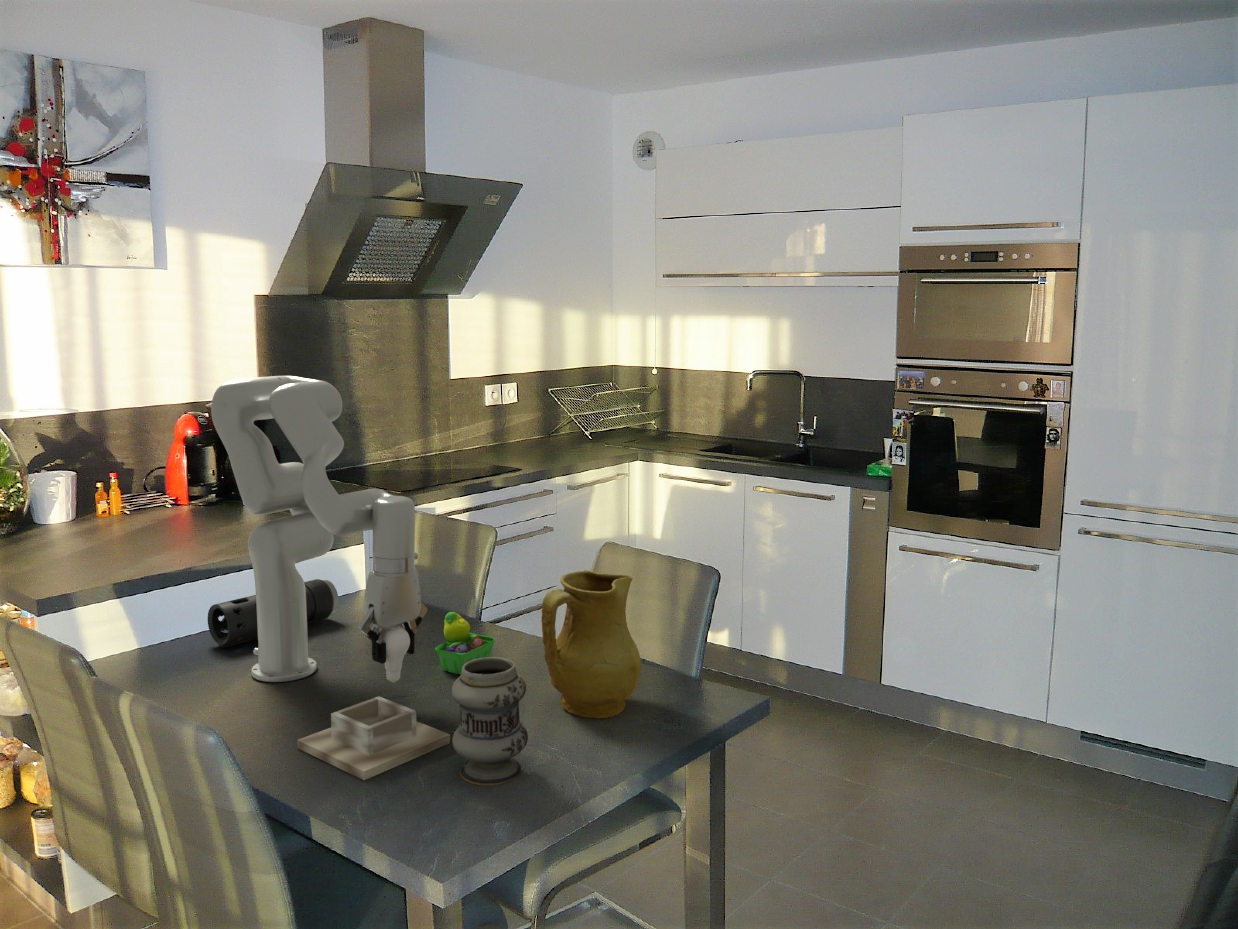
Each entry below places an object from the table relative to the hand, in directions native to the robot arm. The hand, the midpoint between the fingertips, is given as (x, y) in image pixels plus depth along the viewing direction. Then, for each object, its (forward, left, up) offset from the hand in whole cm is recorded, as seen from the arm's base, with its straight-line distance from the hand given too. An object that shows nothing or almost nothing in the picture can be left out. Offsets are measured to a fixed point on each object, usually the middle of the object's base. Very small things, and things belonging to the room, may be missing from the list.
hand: (393, 656), depth 189 cm
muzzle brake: (-53, +9, -10) cm, 54 cm away
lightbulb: (0, 0, -5) cm, 5 cm away
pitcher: (+29, +23, -10) cm, 38 cm away
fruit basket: (-5, +22, -10) cm, 25 cm away
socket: (+12, -14, -9) cm, 20 cm away
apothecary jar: (+34, -8, -10) cm, 36 cm away
